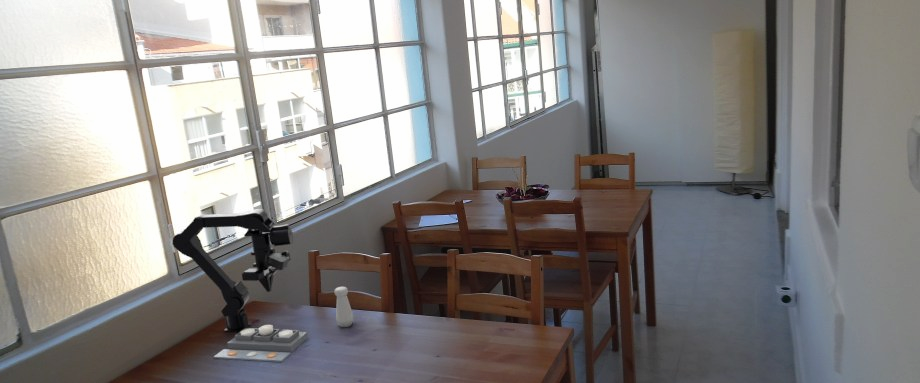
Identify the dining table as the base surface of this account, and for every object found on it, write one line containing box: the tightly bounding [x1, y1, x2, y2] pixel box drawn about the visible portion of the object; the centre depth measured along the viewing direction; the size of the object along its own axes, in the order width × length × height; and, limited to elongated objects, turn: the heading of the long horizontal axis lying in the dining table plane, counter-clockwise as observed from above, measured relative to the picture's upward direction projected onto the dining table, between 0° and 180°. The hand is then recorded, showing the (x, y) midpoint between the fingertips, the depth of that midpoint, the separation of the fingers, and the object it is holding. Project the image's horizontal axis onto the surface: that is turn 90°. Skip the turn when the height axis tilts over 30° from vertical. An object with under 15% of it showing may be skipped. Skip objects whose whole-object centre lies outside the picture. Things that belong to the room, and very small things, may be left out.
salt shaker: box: [334, 286, 355, 328], centre depth 228 cm, size 6×6×13 cm
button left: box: [241, 329, 255, 336], centre depth 222 cm, size 4×4×2 cm
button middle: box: [258, 324, 274, 336], centre depth 219 cm, size 4×4×2 cm
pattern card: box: [213, 348, 292, 363], centre depth 212 cm, size 24×5×1 cm, turn 73°
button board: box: [226, 327, 309, 353], centre depth 220 cm, size 23×10×4 cm, turn 73°
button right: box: [279, 329, 293, 337], centre depth 218 cm, size 4×4×2 cm
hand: (269, 291), depth 233 cm, fingers closed
